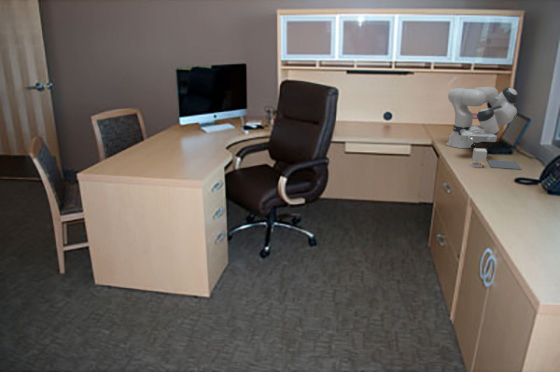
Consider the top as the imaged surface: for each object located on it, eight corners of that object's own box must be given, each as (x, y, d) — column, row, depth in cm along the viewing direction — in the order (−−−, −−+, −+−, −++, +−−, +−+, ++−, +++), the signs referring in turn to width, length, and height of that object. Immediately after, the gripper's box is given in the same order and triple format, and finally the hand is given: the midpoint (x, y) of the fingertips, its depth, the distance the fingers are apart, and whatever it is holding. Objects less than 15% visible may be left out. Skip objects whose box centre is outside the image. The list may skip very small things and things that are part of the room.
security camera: (484, 167, 260) (487, 151, 257) (472, 167, 261) (474, 150, 258) (482, 164, 266) (484, 148, 262) (469, 164, 267) (472, 147, 264)
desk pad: (487, 160, 274) (487, 159, 274) (516, 162, 270) (516, 161, 269) (490, 167, 260) (490, 166, 259) (521, 169, 255) (521, 169, 255)
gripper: (494, 141, 281) (497, 146, 268) (459, 139, 286) (461, 144, 274) (495, 131, 279) (499, 135, 266) (460, 129, 284) (462, 134, 272)
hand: (479, 140), depth 270 cm, fingers open, 8 cm apart
